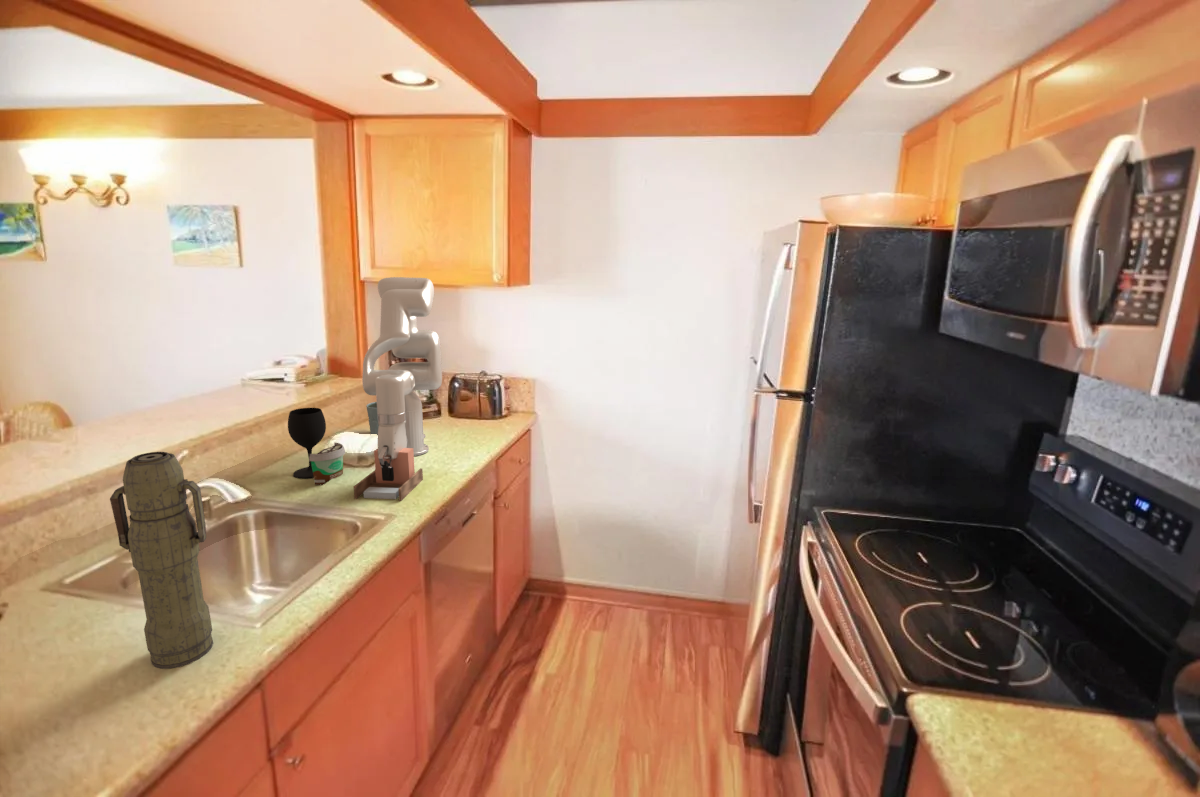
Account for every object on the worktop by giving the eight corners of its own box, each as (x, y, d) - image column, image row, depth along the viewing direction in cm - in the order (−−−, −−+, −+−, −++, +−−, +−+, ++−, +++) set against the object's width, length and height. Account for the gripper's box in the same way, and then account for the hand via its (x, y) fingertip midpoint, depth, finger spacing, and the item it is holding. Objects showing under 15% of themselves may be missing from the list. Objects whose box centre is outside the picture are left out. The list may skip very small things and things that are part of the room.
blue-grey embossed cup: (393, 429, 227) (391, 400, 225) (399, 436, 219) (397, 405, 216) (366, 433, 222) (363, 402, 219) (371, 440, 214) (369, 408, 211)
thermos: (149, 643, 100) (114, 451, 92) (228, 629, 104) (201, 444, 96) (130, 676, 92) (90, 470, 84) (216, 660, 96) (186, 461, 88)
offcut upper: (369, 492, 162) (369, 486, 162) (401, 494, 162) (400, 488, 161) (363, 497, 159) (363, 491, 158) (395, 499, 158) (395, 493, 158)
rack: (380, 482, 174) (379, 466, 173) (423, 484, 173) (422, 468, 172) (354, 503, 158) (353, 486, 157) (401, 506, 157) (400, 488, 156)
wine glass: (308, 465, 186) (302, 405, 181) (337, 468, 184) (331, 408, 179) (285, 477, 176) (278, 414, 172) (315, 480, 174) (308, 416, 170)
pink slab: (382, 485, 172) (380, 446, 169) (415, 486, 171) (413, 448, 168) (376, 490, 168) (373, 451, 165) (410, 491, 167) (407, 452, 164)
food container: (330, 488, 168) (327, 456, 166) (311, 486, 169) (308, 454, 167) (355, 474, 180) (353, 443, 178) (338, 472, 181) (335, 441, 179)
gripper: (391, 410, 173) (395, 463, 177) (364, 425, 156) (369, 484, 160) (416, 411, 173) (418, 465, 177) (391, 426, 156) (395, 486, 160)
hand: (395, 474), depth 168 cm, fingers open, 9 cm apart
